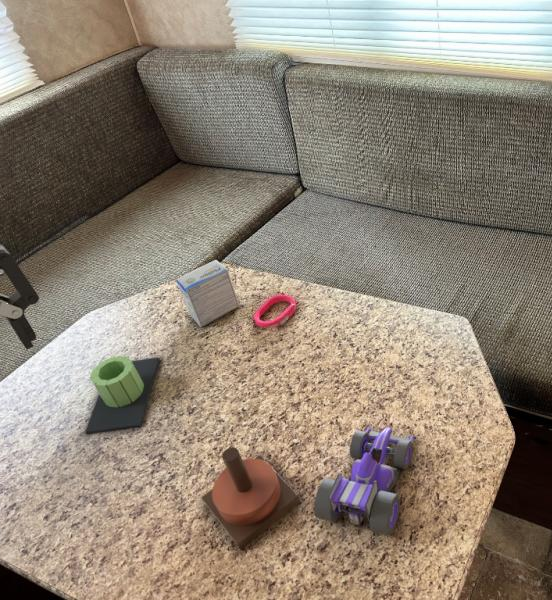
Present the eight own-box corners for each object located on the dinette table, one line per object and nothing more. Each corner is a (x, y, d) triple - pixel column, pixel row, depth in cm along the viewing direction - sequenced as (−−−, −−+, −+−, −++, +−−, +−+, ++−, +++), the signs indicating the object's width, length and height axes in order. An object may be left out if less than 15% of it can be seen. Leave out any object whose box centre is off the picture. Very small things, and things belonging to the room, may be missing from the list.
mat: (140, 427, 89) (139, 424, 89) (86, 434, 89) (84, 431, 89) (160, 359, 100) (159, 357, 100) (111, 366, 100) (110, 363, 100)
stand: (240, 550, 73) (215, 503, 66) (204, 503, 79) (178, 455, 72) (300, 502, 77) (283, 453, 71) (262, 461, 83) (243, 411, 76)
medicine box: (229, 296, 112) (216, 258, 106) (241, 307, 109) (228, 268, 103) (190, 316, 108) (174, 278, 102) (201, 328, 105) (185, 290, 100)
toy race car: (424, 442, 83) (421, 412, 79) (390, 543, 72) (384, 514, 68) (359, 429, 85) (352, 399, 81) (317, 525, 75) (307, 496, 71)
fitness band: (275, 333, 103) (273, 326, 102) (248, 324, 105) (246, 317, 104) (302, 304, 108) (301, 297, 107) (277, 296, 110) (275, 289, 109)
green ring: (113, 414, 91) (99, 392, 88) (97, 392, 95) (84, 370, 92) (150, 391, 94) (138, 369, 91) (133, 372, 98) (122, 350, 94)
